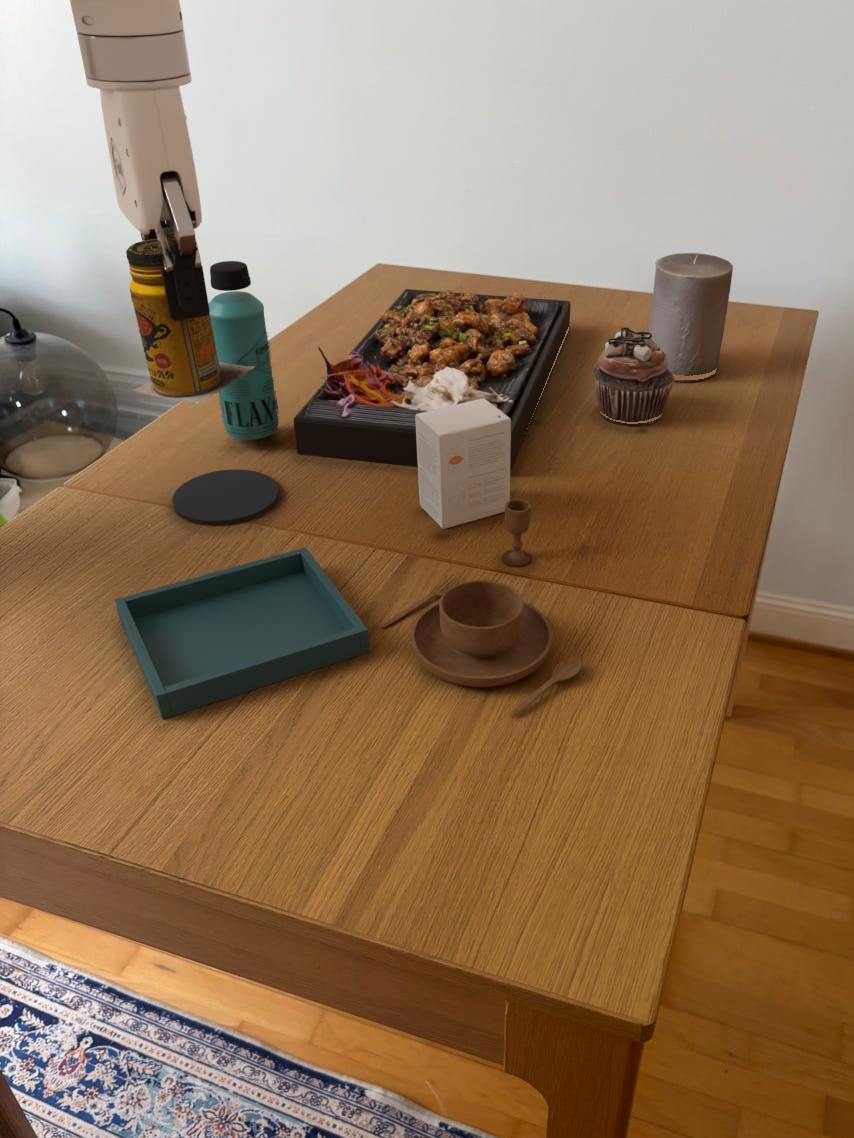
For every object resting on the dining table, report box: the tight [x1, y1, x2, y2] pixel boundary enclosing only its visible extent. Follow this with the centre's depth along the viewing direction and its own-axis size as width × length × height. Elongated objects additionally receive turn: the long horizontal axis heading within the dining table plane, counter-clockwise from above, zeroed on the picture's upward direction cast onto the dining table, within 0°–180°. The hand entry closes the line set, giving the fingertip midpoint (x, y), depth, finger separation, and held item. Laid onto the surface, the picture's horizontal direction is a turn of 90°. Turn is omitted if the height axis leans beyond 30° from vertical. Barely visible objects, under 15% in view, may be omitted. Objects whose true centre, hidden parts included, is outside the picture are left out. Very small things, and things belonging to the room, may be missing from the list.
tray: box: [114, 547, 371, 720], centre depth 84 cm, size 18×15×2 cm
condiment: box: [125, 238, 254, 405], centre depth 84 cm, size 7×8×12 cm
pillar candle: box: [648, 252, 734, 383], centre depth 127 cm, size 10×10×15 cm
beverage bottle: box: [208, 260, 281, 441], centre depth 108 cm, size 6×7×20 cm
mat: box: [171, 468, 280, 526], centre depth 103 cm, size 11×11×1 cm
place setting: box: [380, 498, 583, 717], centre depth 84 cm, size 18×20×6 cm
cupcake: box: [593, 326, 675, 427], centre depth 117 cm, size 10×10×10 cm
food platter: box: [293, 288, 572, 473], centre depth 124 cm, size 45×25×10 cm, turn 167°
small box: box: [415, 398, 511, 530], centre depth 98 cm, size 8×6×10 cm
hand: (179, 302), depth 83 cm, fingers closed on condiment, 6 cm apart
